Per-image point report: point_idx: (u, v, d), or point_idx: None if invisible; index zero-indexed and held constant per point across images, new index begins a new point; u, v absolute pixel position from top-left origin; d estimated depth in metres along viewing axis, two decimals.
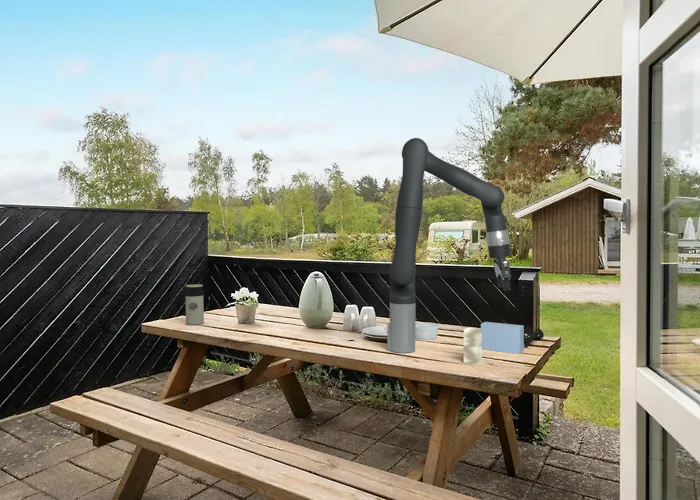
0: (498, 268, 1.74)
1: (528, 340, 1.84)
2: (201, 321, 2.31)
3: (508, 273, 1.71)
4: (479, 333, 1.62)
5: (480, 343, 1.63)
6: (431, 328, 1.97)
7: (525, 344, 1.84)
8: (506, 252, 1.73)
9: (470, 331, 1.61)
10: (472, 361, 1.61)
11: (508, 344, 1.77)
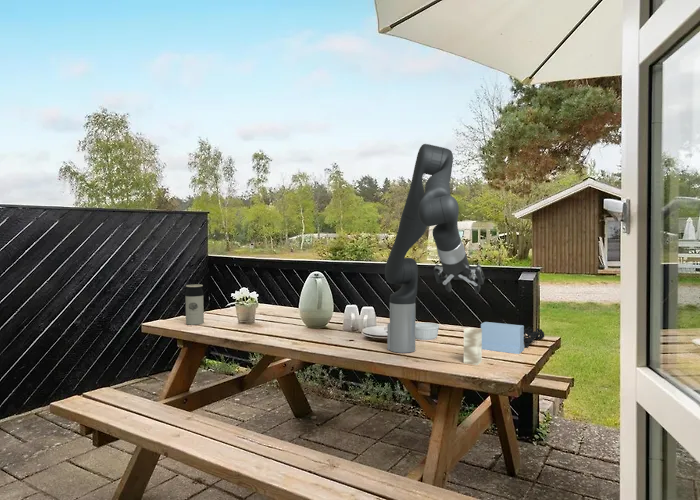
0: None
1: (528, 340, 1.84)
2: (201, 321, 2.31)
3: (439, 278, 1.52)
4: (479, 333, 1.62)
5: (480, 343, 1.63)
6: (431, 328, 1.97)
7: (525, 344, 1.84)
8: (442, 265, 1.46)
9: (470, 331, 1.61)
10: (472, 361, 1.61)
11: (508, 344, 1.77)
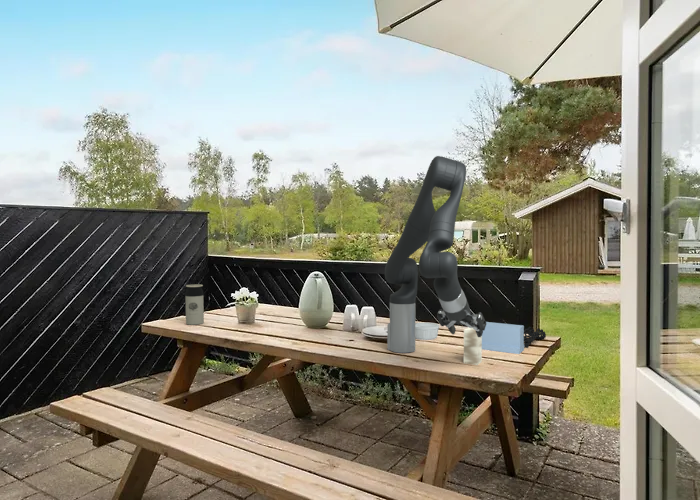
0: None
1: (529, 340, 1.85)
2: (201, 321, 2.31)
3: (443, 322, 1.57)
4: None
5: (480, 343, 1.63)
6: (431, 328, 1.97)
7: (525, 344, 1.84)
8: None
9: (470, 331, 1.61)
10: (472, 361, 1.61)
11: (508, 344, 1.77)
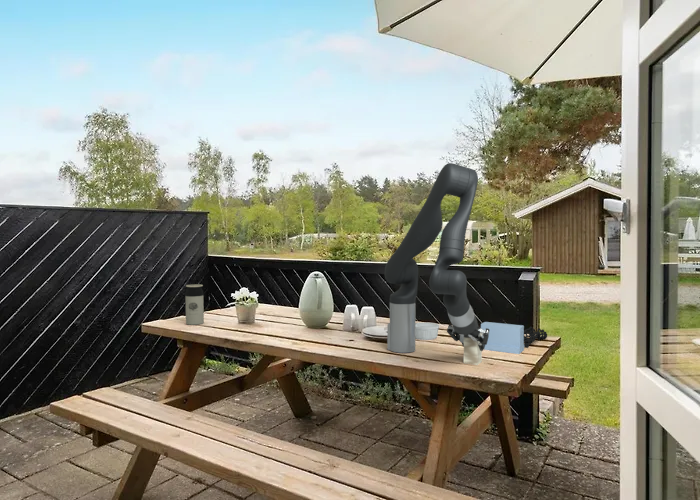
0: None
1: (529, 340, 1.85)
2: (201, 321, 2.31)
3: (456, 337, 1.63)
4: None
5: None
6: (431, 328, 1.97)
7: (526, 344, 1.84)
8: None
9: None
10: (472, 361, 1.61)
11: (508, 344, 1.77)
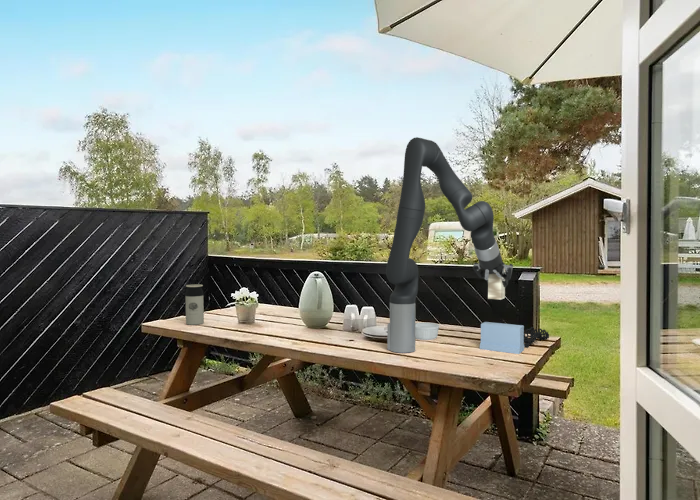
0: None
1: (529, 340, 1.85)
2: (201, 321, 2.31)
3: (481, 274, 1.76)
4: None
5: None
6: (431, 328, 1.97)
7: (526, 344, 1.84)
8: None
9: None
10: (496, 296, 1.73)
11: (508, 344, 1.77)
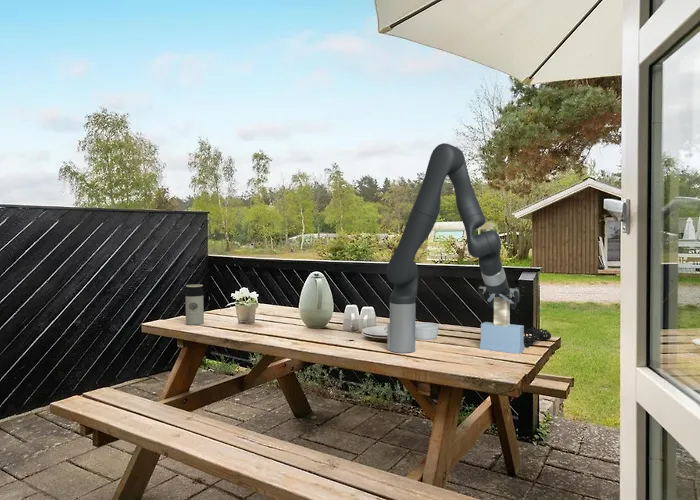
0: None
1: (529, 340, 1.85)
2: (201, 321, 2.31)
3: (484, 296, 1.81)
4: None
5: (508, 307, 1.80)
6: (431, 328, 1.97)
7: (526, 344, 1.84)
8: None
9: None
10: (502, 322, 1.79)
11: (508, 344, 1.77)
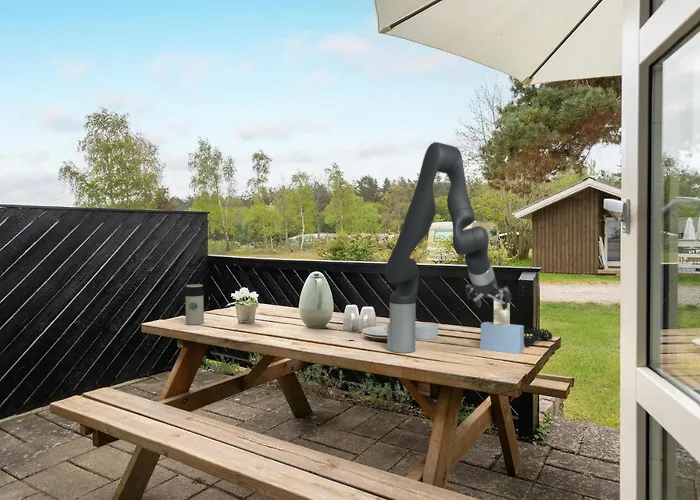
0: None
1: (529, 340, 1.85)
2: (201, 321, 2.31)
3: (470, 296, 1.70)
4: None
5: (508, 307, 1.80)
6: (431, 328, 1.97)
7: (526, 344, 1.84)
8: (473, 285, 1.63)
9: None
10: (502, 322, 1.79)
11: (508, 344, 1.77)
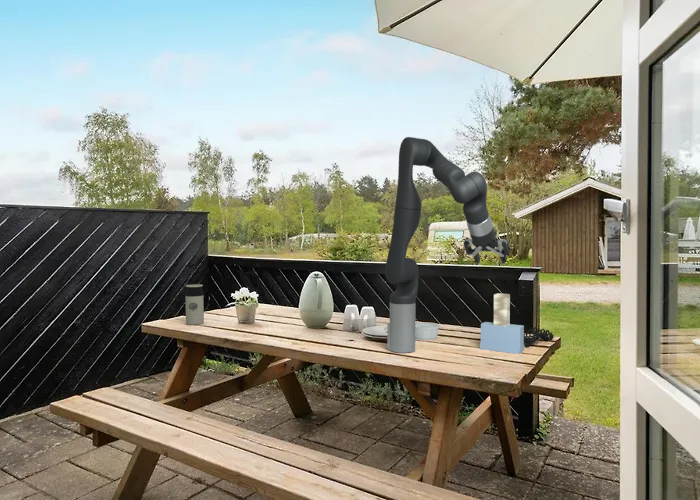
0: None
1: (530, 340, 1.85)
2: (201, 321, 2.31)
3: (469, 250, 1.68)
4: (508, 298, 1.80)
5: (508, 307, 1.80)
6: (431, 328, 1.97)
7: (526, 344, 1.84)
8: None
9: (500, 296, 1.79)
10: (502, 322, 1.79)
11: (508, 344, 1.77)
